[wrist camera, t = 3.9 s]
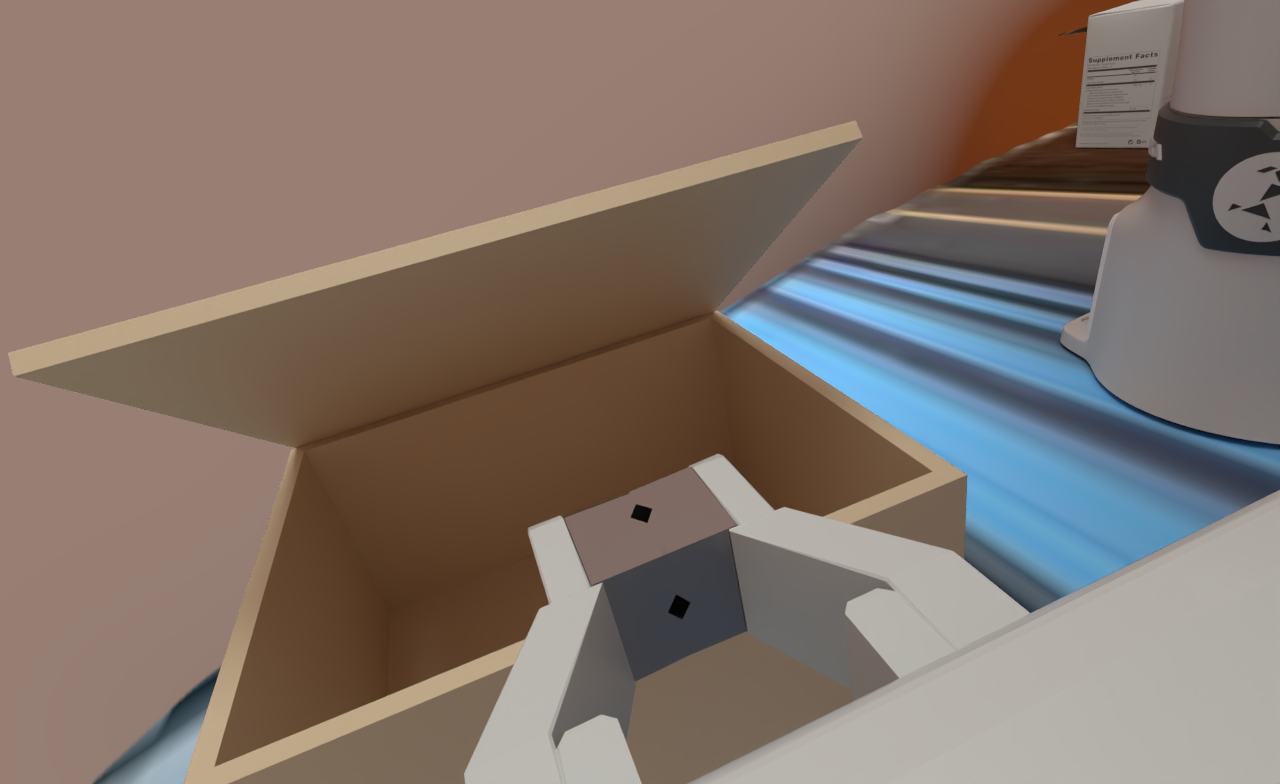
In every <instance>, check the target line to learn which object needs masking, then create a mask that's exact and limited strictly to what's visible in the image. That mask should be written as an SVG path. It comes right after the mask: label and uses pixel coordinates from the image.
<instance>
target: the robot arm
mask: <svg viewBox="0 0 1280 784" xmlns="http://www.w3.org/2000/svg"><path fill="white" fill-rule="evenodd" d="M1148 152H1149V154H1150V157H1149V164H1148V170H1147V176H1146V179H1147V181H1148V183H1149V184H1150V185H1151V187H1150V188H1149V189H1148V190H1147V191H1146V193H1145V194H1144V195H1143V196H1141V197H1140V198H1139V199H1138V200H1136V201H1135V202H1133V203H1131V204H1129V205H1128V206H1126V207H1125V208H1124V209H1123V210H1122V211H1121V212H1119V213H1117V214H1115V215H1114V216H1113V217H1112V219H1111V221H1110V223H1109V226H1108V230H1107V235H1106V240H1105V244H1104V249H1103V253H1102V258H1101V263H1100V267H1099V272H1098V277H1097V282H1096V286H1095V291H1094V296H1093V301H1092V306H1091V311H1090V313H1087V314H1085V315H1083V316H1081V317H1079V318H1077V319H1075V320H1073V321H1071V322H1069V323H1067V324H1066V325H1064V327H1063V330H1062V334H1061V338H1060V342H1061V343H1062V344H1063V345H1064V346H1065V347H1067V348H1068V349H1069V350H1071V351H1073V352H1074V353H1076V354H1078V355H1079V356H1081V357H1083V358H1085V359H1086V360H1087V362H1088V363H1089V364H1090V366H1091V368H1092V370H1093V372H1094V374H1095V376H1096V377H1097V379H1098V380H1099V381H1100V382H1101V384H1102V385H1104V386H1105V387H1106V388H1107V389H1108V390H1109V391H1110V392H1112V393H1113V394H1114V395H1116V396H1117V397H1119V398H1120V399H1122V400H1124V401H1125V402H1127V403H1129V404H1131V405H1133V406H1135V407H1137V408H1139V409H1141V410H1143V411H1145V412H1148V413H1150V414H1153V415H1155V416H1158V417H1160V418H1163V419H1166V420H1168V421H1171V422H1174V423H1177V424H1181V425H1184V426H1187V427H1191V428H1194V429H1198V430H1202V431H1206V432H1210V433H1215V434H1219V435H1224V436H1229V437H1234V438H1239V439H1245V440H1251V441H1258V442H1265V443H1273V444H1280V0H1184V7H1183V18H1182V27H1181V35H1180V43H1179V51H1178V58H1177V64H1176V71H1175V77H1174V83H1173V90H1172V96H1171V101H1169V102H1168V103H1167V104H1165V105H1164V106H1163V107H1162V108H1161V109H1160V110H1159V112H1158V116H1157V121H1156V126H1155V130H1154V132H1153V133H1152V134H1151V138H1150V143H1149V149H1148ZM562 515H563V517H561V516H557V517H555V518H552V519H549V520H547V521H544V522H542V523H539V524H536V525H534V526H531V527H529V528H528V535H529V538H530V542H531V545H532V548H533V552H534V555H535V558H536V562H537V565H538V568H539V571H540V575H541V578H542V581H543V585H544V588H545V591H546V595H547V598H548V601H549V605H547V606H544V607H542V608H540V609H539V610H538V612H537V615H536V617H535V619H534V621H533V623H532V626H531V628H530V630H529V632H528V634H527V637H526V639H525V641H524V643H523V645H522V648H521V650H520V652H519V654H518V656H517V659H516V661H515V663H514V665H513V667H512V670H511V672H510V674H509V676H508V678H507V681H506V683H505V685H504V687H503V689H502V692H501V694H500V696H499V698H498V700H497V703H496V705H495V707H494V709H493V711H492V714H491V716H490V718H489V720H488V722H487V724H486V727H485V729H484V731H483V733H482V735H481V738H480V740H479V742H478V744H477V746H476V749H475V751H474V753H473V755H472V757H471V760H470V762H469V764H468V766H467V768H466V771H465V773H464V777H465V784H642V783H641V781H640V778H639V775H638V773H637V770H636V767H635V764H634V762H633V759H632V756H631V754H630V751H629V748H628V746H627V743H626V738H627V733H628V727H629V722H630V716H631V711H632V705H633V700H634V694H635V689H636V684H635V682H636V681H638V680H640V679H642V678H644V677H646V676H648V675H650V674H652V673H654V672H656V671H658V670H660V669H662V668H665V667H667V666H669V665H671V664H673V663H675V662H677V661H679V660H681V659H683V658H685V657H687V656H689V655H691V654H694V653H696V652H699V651H701V650H703V649H706V648H708V647H710V646H713V645H715V644H718V643H720V642H722V641H725V640H727V639H730V638H732V637H734V636H737V635H739V634H741V633H744V632H746V631H748V634H750V635H751V636H753V637H755V638H757V639H759V640H761V641H763V642H764V643H766V644H768V645H770V646H772V647H774V648H775V649H777V650H779V651H781V652H783V653H785V654H787V655H788V656H790V657H792V658H794V659H796V660H798V661H800V662H801V663H803V664H805V665H807V666H809V667H811V668H812V669H814V670H816V671H818V672H820V673H822V674H824V675H825V676H827V677H829V678H831V679H833V680H835V681H836V682H838V683H840V684H842V685H844V686H846V687H848V688H849V689H851V697H852V702H851V703H849V704H847V705H845V706H843V707H841V708H839V709H837V710H835V711H833V712H831V713H829V714H827V715H825V716H823V717H821V718H819V719H816V720H814V721H812V722H810V723H808V724H806V725H804V726H802V727H800V728H798V729H796V730H794V731H792V732H790V733H788V734H786V735H784V736H782V737H780V738H778V739H776V740H774V741H772V742H770V743H768V744H766V745H764V746H762V747H760V748H758V749H756V750H754V751H752V752H750V753H748V754H746V755H744V756H742V757H740V758H738V759H736V760H734V761H732V762H730V763H728V764H726V765H724V766H722V767H720V768H718V769H716V770H714V771H712V772H710V773H708V774H705V775H703V776H701V777H699V778H697V779H695V780H693V781H691V782H689V783H687V784H1280V490H1279V491H1276V492H1274V493H1272V494H1270V495H1268V496H1266V497H1264V498H1262V499H1260V500H1258V501H1256V502H1254V503H1252V504H1250V505H1248V506H1246V507H1244V508H1242V509H1240V510H1238V511H1236V512H1234V513H1232V514H1230V515H1228V516H1226V517H1224V518H1222V519H1220V520H1218V521H1216V522H1214V523H1212V524H1210V525H1208V526H1206V527H1204V528H1202V529H1200V530H1198V531H1196V532H1194V533H1192V534H1190V535H1188V536H1186V537H1184V538H1182V539H1180V540H1177V541H1175V542H1173V543H1171V544H1169V545H1167V546H1165V547H1163V548H1161V549H1159V550H1157V551H1155V552H1153V553H1151V554H1149V555H1147V556H1145V557H1143V558H1141V559H1139V560H1137V561H1135V562H1133V563H1131V564H1129V565H1127V566H1125V567H1123V568H1121V569H1119V570H1117V571H1115V572H1113V573H1111V574H1109V575H1107V576H1105V577H1103V578H1101V579H1099V580H1097V581H1095V582H1093V583H1091V584H1089V585H1087V586H1085V587H1083V588H1081V589H1079V590H1076V591H1074V592H1072V593H1070V594H1068V595H1066V596H1064V597H1062V598H1060V599H1058V600H1056V601H1054V602H1052V603H1050V604H1048V605H1046V606H1044V607H1042V608H1040V609H1038V610H1036V611H1034V612H1032V613H1029V612H1028V611H1027V610H1026V609H1024V608H1023V607H1022V606H1021V605H1019V604H1018V603H1017V602H1016V601H1014V600H1013V599H1012V598H1011V597H1010V596H1008V595H1007V594H1006V593H1005V592H1003V591H1002V590H1001V589H1000V588H998V587H997V586H996V585H995V584H993V583H992V582H991V581H990V580H989V579H987V578H986V577H985V576H984V575H982V574H981V573H980V572H979V571H977V570H976V569H975V568H974V567H972V566H971V565H970V564H969V563H968V562H966V561H965V560H964V559H963V558H961V557H960V556H959V555H958V554H956V553H955V552H954V551H951V550H947V549H944V548H940V547H936V546H932V545H928V544H924V543H921V542H917V541H913V540H909V539H905V538H901V537H898V536H894V535H890V534H886V533H882V532H878V531H875V530H871V529H867V528H863V527H859V526H855V525H851V524H848V523H844V522H840V521H836V520H832V519H828V518H825V517H821V516H817V515H813V514H809V513H805V512H802V511H798V510H794V509H790V508H786V507H783V508H780V509H778V510H774V509H773V508H772V507H771V506H770V505H769V504H768V503H767V501H766V500H765V499H764V498H763V497H762V496H761V495H760V494H759V493H758V492H757V491H756V490H755V489H754V488H753V487H752V485H751V484H750V483H749V482H748V481H747V480H746V479H745V478H744V477H743V476H742V475H741V474H740V473H739V472H738V471H737V470H736V468H735V467H734V466H733V465H732V464H731V463H730V462H729V461H728V460H727V459H726V458H725V457H724V456H723V455H720V454H716V455H714V456H711V457H709V458H706V459H704V460H702V461H699V462H697V463H695V464H692V465H690V466H688V468H685V469H683V470H680V471H678V472H675V473H673V474H670V475H668V476H665V477H663V478H660V479H658V480H655V481H653V482H650V483H648V484H645V485H643V486H640V487H638V488H635V489H633V490H630V491H626V492H623V493H620V494H617V495H615V496H612V497H609V498H606V499H604V500H601V501H598V502H595V503H593V504H590V505H587V506H584V507H582V508H579V509H576V510H573V511H571V512H568V513H565V514H562Z"/></svg>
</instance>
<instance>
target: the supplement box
mask: <svg viewBox="0 0 1280 784" xmlns="http://www.w3.org/2000/svg"><path fill="white" fill-rule="evenodd" d="M1183 7H1184V0H1141V1H1136V2H1132V3H1129V4H1126V5H1123V6H1119V7H1116V8H1113V9H1110V10H1107V11H1103V12H1100V13H1097V14H1093V15H1090V16H1089V19H1088V29H1087V40H1086V50H1085V60H1084V70H1083V79H1082V88H1081V98H1080V108H1079V118H1078V128H1077V138H1076V148H1149V143H1150V138H1151V134H1152V133H1153V132H1154V130H1155V126H1156V121H1157V116H1158V112H1159V110H1160V109H1161V108H1162V107H1163V106H1164V105H1165V104H1167V103H1168V102H1169V101H1171V96H1172V90H1173V83H1174V77H1175V71H1176V64H1177V58H1178V51H1179V43H1180V35H1181V27H1182V18H1183Z"/></svg>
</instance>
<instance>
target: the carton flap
mask: <svg viewBox="0 0 1280 784" xmlns="http://www.w3.org/2000/svg"><path fill="white" fill-rule="evenodd" d="M862 138H863V136H862V134H861V132H860V130H859V127H858V125H857V123H856V121H852V122H848V123H844V124H841V125H837V126H833V127H830V128H826V129H822V130H819V131H815V132H812V133H808V134H804V135H801V136H797V137H793V138H790V139H786V140H782V141H779V142H775V143H771V144H768V145H765V146H760V147H757V148H753V149H750V150H746V151H742V152H739V153H736V154H731V155H728V156H724V157H721V158H717V159H713V160H709V161H706V162H702V163H698V164H695V165H691V166H688V167H684V168H681V169H677V170H673V171H669V172H666V173H662V174H658V175H655V176H651V177H648V178H644V179H640V180H637V181H633V182H629V183H626V184H622V185H618V186H615V187H611V188H607V189H604V190H600V191H597V192H593V193H589V194H585V195H582V196H578V197H575V198H571V199H567V200H564V201H560V202H556V203H553V204H549V205H545V206H542V207H538V208H534V209H531V210H528V211H523V212H520V213H516V214H513V215H509V216H505V217H502V218H499V219H494V220H491V221H487V222H483V223H480V224H476V225H472V226H469V227H465V228H462V229H458V230H454V231H451V232H447V233H444V234H440V235H436V236H432V237H429V238H425V239H422V240H418V241H414V242H410V243H407V244H403V245H400V246H396V247H392V248H389V249H385V250H382V251H378V252H374V253H370V254H367V255H363V256H359V257H356V258H352V259H348V260H345V261H341V262H338V263H334V264H330V265H327V266H323V267H320V268H316V269H312V270H309V271H305V272H301V273H297V274H294V275H290V276H287V277H283V278H279V279H276V280H272V281H268V282H265V283H261V284H257V285H254V286H251V287H247V288H243V289H239V290H236V291H232V292H228V293H225V294H221V295H217V296H214V297H210V298H206V299H203V300H199V301H195V302H192V303H188V304H184V305H181V306H177V307H174V308H170V309H166V310H163V311H159V312H156V313H152V314H148V315H145V316H141V317H137V318H133V319H130V320H126V321H122V322H119V323H115V324H112V325H108V326H104V327H101V328H97V329H93V330H90V331H86V332H82V333H79V334H75V335H72V336H68V337H64V338H61V339H57V340H53V341H50V342H46V343H43V344H39V345H35V346H31V347H28V348H24V349H20V350H17V351H13V352H9V353H8V356H9V360H10V363H11V368H12V371H13V376H15V377H18V378H22V379H26V380H31V381H34V382H38V383H42V384H46V385H50V386H54V387H58V388H62V389H66V390H70V391H74V392H78V393H81V394H86V395H89V396H93V397H98V398H101V399H105V400H109V401H113V402H117V403H121V404H125V405H129V406H133V407H137V408H140V409H144V410H149V411H153V412H156V413H160V414H164V415H168V416H172V417H176V418H180V419H184V420H188V421H192V422H196V423H199V424H203V425H207V426H211V427H215V428H219V429H223V430H227V431H231V432H235V433H239V434H243V435H247V436H250V437H254V438H258V439H262V440H266V441H270V442H274V443H278V444H282V445H286V446H290V447H294V448H298V447H302V446H305V445H308V444H311V443H314V442H317V441H320V440H323V439H326V438H329V437H332V436H335V435H338V434H341V433H344V432H348V431H351V430H354V429H357V428H360V427H363V426H366V425H369V424H372V423H375V422H378V421H381V420H384V419H387V418H390V417H394V416H397V415H400V414H403V413H406V412H409V411H412V410H415V409H418V408H421V407H424V406H427V405H430V404H433V403H436V402H439V401H443V400H446V399H449V398H452V397H455V396H458V395H461V394H464V393H467V392H470V391H473V390H476V389H479V388H482V387H485V386H489V385H492V384H495V383H498V382H501V381H504V380H507V379H510V378H513V377H516V376H519V375H522V374H525V373H528V372H531V371H534V370H538V369H541V368H544V367H547V366H550V365H553V364H556V363H559V362H562V361H565V360H568V359H571V358H574V357H577V356H580V355H584V354H587V353H590V352H593V351H596V350H599V349H602V348H605V347H608V346H611V345H614V344H617V343H620V342H623V341H626V340H630V339H633V338H636V337H639V336H642V335H645V334H648V333H651V332H654V331H657V330H660V329H663V328H666V327H669V326H672V325H675V324H679V323H682V322H685V321H688V320H691V319H694V318H697V317H700V316H703V315H706V314H709V313H712V312H714V311H715V310H716V308H717V307H718V306H719V305H720V304H721V303H722V302H723V301H724V299H725V298H726V297H727V296H728V295H729V294H730V292H731V291H732V290H733V289H734V288H735V287H736V285H737V284H738V283H739V282H740V281H741V279H742V278H743V277H744V276H745V275H746V274H747V272H748V271H749V270H750V269H751V268H752V267H753V265H754V264H755V263H756V262H757V261H758V260H759V258H760V257H761V256H762V255H763V254H764V253H765V251H766V250H767V249H768V247H770V246H771V244H772V243H773V242H774V241H775V240H776V238H777V237H778V236H779V235H780V234H781V233H782V232H783V230H784V229H785V228H786V227H787V225H789V223H790V222H791V221H792V220H793V219H794V218H795V216H796V215H797V214H798V213H799V211H800V210H801V209H802V208H803V207H804V206H805V205H806V203H807V202H808V201H809V200H810V199H811V198H812V197H813V195H814V194H815V193H816V192H817V191H818V189H819V188H820V187H821V186H822V185H823V184H824V182H825V181H826V180H827V179H828V178H829V177H830V175H831V174H832V173H833V172H834V171H835V170H836V168H837V167H838V166H839V165H840V164H841V163H842V161H843V160H844V159H845V158H846V157H847V156H848V154H849V153H850V152H851V151H852V149H854V147H855V146H856V145H857V144H858V143H859V141H860V140H861V139H862Z"/></svg>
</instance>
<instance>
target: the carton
mask: <svg viewBox="0 0 1280 784" xmlns="http://www.w3.org/2000/svg"><path fill="white" fill-rule="evenodd" d="M716 454H720V455H723V456H724V457H725V458H726V459H727V460H728V461H729V462H730V463H731V464H732V465H733V466H734V467H735V468H736V470H737V471H738V472H739V473H740V474H741V475H742V476H743V477H744V478H745V479H746V480H747V481H748V482H749V483H750V484H751V485H752V487H753V488H754V489H755V490H756V491H757V492H758V493H759V494H760V495H761V496H762V497H763V498H764V499H765V500H766V501H767V503H768V504H769V505H770V506H771V507H772V508H773V509H774V510H778V509H780V508H783V507H786V508H790V509H794V510H798V511H802V512H805V513H809V514H813V515H817V516H821V517H825V518H828V519H832V520H836V521H840V522H844V523H848V524H851V525H855V526H859V527H863V528H867V529H871V530H875V531H878V532H882V533H886V534H890V535H894V536H898V537H901V538H905V539H909V540H913V541H917V542H921V543H924V544H928V545H932V546H936V547H940V548H944V549H947V550H951V551H954V552H955V553H956V554H958V555H959V556H960V557H961V558H963V559H964V543H965V519H966V495H967V474H965V473H964V472H962V471H961V470H959V469H958V468H956V467H955V466H953V465H952V464H950V463H949V462H947V461H945V460H944V459H942V458H941V457H939V456H938V455H936V454H935V453H933V452H932V451H930V450H929V449H927V448H926V447H924V446H923V445H921V444H920V443H918V442H917V441H915V440H914V439H912V438H910V437H909V436H907V435H906V434H904V433H903V432H901V431H900V430H898V429H897V428H895V427H894V426H892V425H891V424H889V423H888V422H886V421H885V420H883V419H881V418H880V417H878V416H877V415H875V414H874V413H872V412H871V411H869V410H868V409H866V408H865V407H863V406H862V405H860V404H859V403H857V402H856V401H854V400H853V399H851V398H849V397H848V396H846V395H845V394H843V393H842V392H840V391H839V390H837V389H836V388H834V387H833V386H831V385H830V384H828V383H827V382H825V381H824V380H822V379H821V378H819V377H817V376H816V375H814V374H813V373H811V372H810V371H808V370H807V369H805V368H804V367H802V366H801V365H799V364H798V363H796V362H795V361H793V360H792V359H790V358H789V357H787V356H785V355H784V354H782V353H781V352H779V351H778V350H776V349H775V348H773V347H772V346H770V345H769V344H767V343H766V342H764V341H763V340H761V339H760V338H758V337H757V336H755V335H753V334H752V333H750V332H749V331H747V330H746V329H744V328H743V327H741V326H740V325H738V324H737V323H735V322H734V321H732V320H731V319H729V318H728V317H726V316H725V315H723V314H721V313H720V312H718V311H716V312H712V313H709V314H706V315H703V316H700V317H697V318H694V319H691V320H688V321H685V322H682V323H679V324H676V325H672V326H669V327H666V328H663V329H660V330H657V331H654V332H651V333H648V334H645V335H642V336H639V337H636V338H633V339H630V340H626V341H623V342H620V343H617V344H614V345H611V346H608V347H605V348H602V349H599V350H596V351H593V352H590V353H587V354H584V355H580V356H577V357H574V358H571V359H568V360H565V361H562V362H559V363H556V364H553V365H550V366H547V367H544V368H541V369H538V370H535V371H531V372H528V373H525V374H522V375H519V376H516V377H513V378H510V379H507V380H504V381H501V382H498V383H495V384H492V385H489V386H485V387H482V388H479V389H476V390H473V391H470V392H467V393H464V394H461V395H458V396H455V397H452V398H449V399H446V400H443V401H440V402H436V403H433V404H430V405H427V406H424V407H421V408H418V409H415V410H412V411H409V412H406V413H403V414H400V415H397V416H394V417H390V418H387V419H384V420H381V421H378V422H375V423H372V424H369V425H366V426H363V427H360V428H357V429H354V430H351V431H348V432H344V433H341V434H338V435H335V436H332V437H329V438H326V439H323V440H320V441H317V442H314V443H311V444H308V445H305V446H302V447H299V448H295V449H292V450H291V453H290V456H289V459H288V462H287V466H286V469H285V472H284V475H283V478H282V481H281V484H280V487H279V490H278V493H277V496H276V499H275V503H274V506H273V509H272V512H271V515H270V518H269V521H268V524H267V528H266V531H265V533H264V536H263V540H262V543H261V546H260V549H259V552H258V555H257V558H256V561H255V564H254V567H253V570H252V574H251V577H250V580H249V583H248V586H247V589H246V592H245V595H244V598H243V602H242V605H241V608H240V611H239V614H238V617H237V620H236V623H235V626H234V629H233V632H232V635H231V639H230V642H229V645H228V648H227V651H226V654H225V657H224V660H223V663H222V666H221V669H220V672H219V675H218V679H217V682H216V685H215V688H214V691H213V694H212V697H211V700H210V703H209V706H208V709H207V712H206V716H205V719H204V722H203V725H202V728H201V731H200V734H199V737H198V740H197V743H196V746H195V750H194V753H193V756H192V759H191V762H190V765H189V768H188V771H187V774H186V777H185V780H184V784H465V777H464V773H465V771H466V768H467V766H468V764H469V762H470V760H471V757H472V755H473V753H474V751H475V749H476V746H477V744H478V742H479V740H480V738H481V735H482V733H483V731H484V729H485V727H486V724H487V722H488V720H489V718H490V716H491V714H492V711H493V709H494V707H495V705H496V703H497V700H498V698H499V696H500V694H501V692H502V689H503V687H504V685H505V683H506V681H507V678H508V676H509V674H510V672H511V670H512V667H513V665H514V663H515V661H516V659H517V656H518V654H519V652H520V650H521V648H522V645H523V643H524V641H525V639H526V637H527V634H528V632H529V630H530V628H531V626H532V623H533V621H534V619H535V617H536V615H537V612H538V610H539V609H540V608H542V607H544V606H547V605H549V601H548V598H547V595H546V591H545V588H544V585H543V581H542V578H541V575H540V571H539V568H538V565H537V562H536V558H535V555H534V552H533V548H532V545H531V542H530V538H529V535H528V528H529V527H531V526H534V525H536V524H539V523H542V522H544V521H547V520H549V519H552V518H555V517H557V516H561V517H563V515H562V514H565V513H568V512H571V511H573V510H576V509H579V508H582V507H584V506H587V505H590V504H593V503H595V502H598V501H601V500H604V499H606V498H609V497H612V496H615V495H617V494H620V493H623V492H626V491H630V490H633V489H635V488H638V487H640V486H643V485H645V484H648V483H650V482H653V481H655V480H658V479H660V478H663V477H665V476H668V475H670V474H673V473H675V472H678V471H680V470H683V469H685V468H688V466H690V465H692V464H695V463H697V462H699V461H702V460H704V459H706V458H709V457H711V456H714V455H716ZM635 684H636V689H635V694H634V700H633V705H632V711H631V716H630V722H629V727H628V733H627V738H626V743H627V746H628V748H629V751H630V754H631V756H632V759H633V762H634V764H635V767H636V770H637V773H638V775H639V778H640V781H641V783H642V784H687V783H689V782H691V781H693V780H695V779H697V778H699V777H701V776H703V775H705V774H708V773H710V772H712V771H714V770H716V769H718V768H720V767H722V766H724V765H726V764H728V763H730V762H732V761H734V760H736V759H738V758H740V757H742V756H744V755H746V754H748V753H750V752H752V751H754V750H756V749H758V748H760V747H762V746H764V745H766V744H768V743H770V742H772V741H774V740H776V739H778V738H780V737H782V736H784V735H786V734H788V733H790V732H792V731H794V730H796V729H798V728H800V727H802V726H804V725H806V724H808V723H810V722H812V721H814V720H816V719H819V718H821V717H823V716H825V715H827V714H829V713H831V712H833V711H835V710H837V709H839V708H841V707H843V706H845V705H847V704H849V703H851V702H852V697H851V689H849V688H848V687H846V686H844V685H842V684H840V683H838V682H836V681H835V680H833V679H831V678H829V677H827V676H825V675H824V674H822V673H820V672H818V671H816V670H814V669H812V668H811V667H809V666H807V665H805V664H803V663H801V662H800V661H798V660H796V659H794V658H792V657H790V656H788V655H787V654H785V653H783V652H781V651H779V650H777V649H775V648H774V647H772V646H770V645H768V644H766V643H764V642H763V641H761V640H759V639H757V638H755V637H753V636H751V635H750V634H748V631H746V632H744V633H741V634H739V635H737V636H734V637H732V638H730V639H727V640H725V641H722V642H720V643H718V644H715V645H713V646H710V647H708V648H706V649H703V650H701V651H699V652H696V653H694V654H691V655H689V656H687V657H685V658H683V659H681V660H679V661H677V662H675V663H673V664H671V665H669V666H667V667H665V668H662V669H660V670H658V671H656V672H654V673H652V674H650V675H648V676H646V677H644V678H642V679H640V680H638V681H636V682H635Z"/></svg>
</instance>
